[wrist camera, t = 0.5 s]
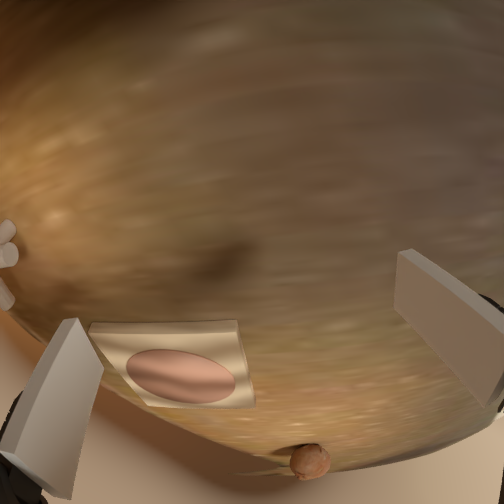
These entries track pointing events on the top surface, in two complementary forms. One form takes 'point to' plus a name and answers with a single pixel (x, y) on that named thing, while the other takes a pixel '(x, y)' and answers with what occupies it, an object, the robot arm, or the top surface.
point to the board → (180, 362)
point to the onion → (310, 462)
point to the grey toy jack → (7, 261)
